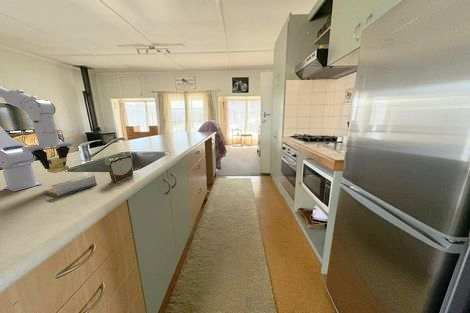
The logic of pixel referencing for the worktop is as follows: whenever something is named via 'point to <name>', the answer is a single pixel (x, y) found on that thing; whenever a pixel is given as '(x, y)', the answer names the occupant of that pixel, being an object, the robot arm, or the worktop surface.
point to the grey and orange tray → (71, 186)
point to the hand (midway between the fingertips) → (55, 167)
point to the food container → (119, 167)
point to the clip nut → (57, 165)
